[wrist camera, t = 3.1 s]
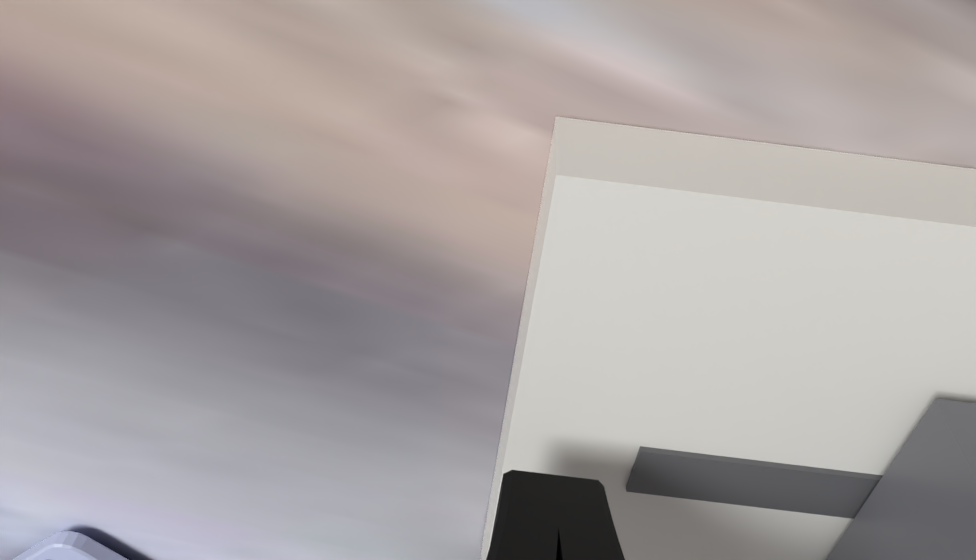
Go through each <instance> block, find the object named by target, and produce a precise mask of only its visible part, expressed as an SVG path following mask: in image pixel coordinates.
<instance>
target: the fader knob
mask: <svg viewBox="0 0 976 560" xmlns="http://www.w3.org/2000/svg"><path fill="white" fill-rule="evenodd" d="M826 560H976V403H968V402H960V401H951V400H943V399H935V400H934V401H933V403H932V404H931V405H930V407H929V408H928V410H927V411H926V413H925V414H924V416H923V417H922V419H921V420H920V422H919V423H918V425H917V426H916V428H915V429H914V431H913V432H912V434H911V435H910V437H909V438H908V440H907V441H906V442H905V444H904V445H903V447H902V448H901V450H900V451H899V453H898V454H897V456H896V457H895V459H894V460H893V462H892V463H891V465H890V466H889V468H888V469H887V471H886V472H885V474H884V475H883V477H882V478H881V480H880V481H879V482H878V484H877V485H876V487H875V488H874V490H873V491H872V493H871V494H870V496H869V497H868V499H867V500H866V502H865V503H864V505H863V506H862V508H861V509H860V511H859V512H858V514H857V515H856V517H855V518H854V519H853V521H852V522H851V524H850V525H849V527H848V528H847V530H846V531H845V533H844V534H843V536H842V537H841V539H840V540H839V542H838V543H837V545H836V546H835V548H834V549H833V551H832V552H831V554H830V555H829V557H828V558H827V559H826Z"/></svg>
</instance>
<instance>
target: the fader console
mask: <svg viewBox="0 0 976 560" xmlns="http://www.w3.org/2000/svg"><path fill="white" fill-rule="evenodd" d="M935 399H943V400H951V401H960V402H968V403H976V169H972V168H964V167H956V166H948V165H940V164H932V163H924V162H916V161H908V160H900V159H892V158H884V157H876V156H868V155H860V154H852V153H844V152H836V151H828V150H820V149H812V148H804V147H796V146H788V145H780V144H772V143H764V142H756V141H748V140H740V139H732V138H724V137H716V136H708V135H700V134H692V133H684V132H676V131H668V130H660V129H652V128H644V127H636V126H628V125H620V124H612V123H604V122H596V121H588V120H580V119H572V118H564V117H556V118H555V124H554V130H553V136H552V141H551V147H550V153H549V159H548V165H547V170H546V176H545V182H544V188H543V194H542V199H541V205H540V211H539V217H538V223H537V228H536V234H535V240H534V246H533V252H532V257H531V263H530V269H529V275H528V281H527V286H526V292H525V298H524V304H523V310H522V315H521V321H520V327H519V333H518V339H517V344H516V350H515V356H514V362H513V368H512V373H511V379H510V385H509V391H508V397H507V402H506V408H505V414H504V420H503V426H502V431H501V437H500V443H499V449H498V455H497V460H496V466H495V472H494V478H493V484H492V490H491V495H490V501H489V507H488V513H487V519H486V524H485V530H484V536H483V542H482V548H481V560H486V558H487V555H488V551H489V548H490V543H491V538H492V532H493V527H494V521H495V516H496V510H497V505H498V499H499V494H500V489H501V483H502V478H503V474H504V473H506V472H508V471H510V470H519V471H527V472H536V473H544V474H552V475H561V476H569V477H577V478H586V479H594V480H599V481H600V482H601V483H602V484H603V486H604V488H605V492H606V496H607V501H608V505H609V508H610V512H611V516H612V519H613V523H614V526H615V530H616V533H617V536H618V539H619V543H620V546H621V549H622V552H623V555H624V558H625V560H826V559H827V558H828V557H829V555H830V554H831V552H832V551H833V549H834V548H835V546H836V545H837V543H838V542H839V540H840V539H841V537H842V536H843V534H844V533H845V531H846V530H847V528H848V527H849V525H850V524H851V522H852V521H853V519H854V518H855V517H856V515H857V514H858V512H859V511H860V509H861V508H862V506H863V505H864V503H865V502H866V500H867V499H868V497H869V496H870V494H871V493H872V491H873V490H874V488H875V487H876V485H877V484H878V482H879V481H880V480H881V478H882V477H883V475H884V474H885V472H886V471H887V469H888V468H889V466H890V465H891V463H892V462H893V460H894V459H895V457H896V456H897V454H898V453H899V451H900V450H901V448H902V447H903V445H904V444H905V442H906V441H907V440H908V438H909V437H910V435H911V434H912V432H913V431H914V429H915V428H916V426H917V425H918V423H919V422H920V420H921V419H922V417H923V416H924V414H925V413H926V411H927V410H928V408H929V407H930V405H931V404H932V403H933V401H934V400H935Z"/></svg>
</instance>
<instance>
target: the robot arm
mask: <svg viewBox="0 0 976 560" xmlns="http://www.w3.org/2000/svg"><path fill="white" fill-rule="evenodd" d="M12 560H128V559H126V558H125V557H123V556H121V555H119V554H118V553H116V552H114V551H112V550H111V549H109V548H107V547H105V546H103V545H102V544H100V543H98V542H96V541H95V540H93V539H91V538H89V537H88V536H85V535H83V534H81V533H78V532H73V531H61V532H58V533H55V534H53V535H51V536H50V537H48V538H46V539H45V540H43V541H42V542H40V543H38V544H37V545H35V546H33V547H32V548H30V549H28V550H27V551H25V552H23V553H22V554H20V555H18V556H17V557H15V558H13V559H12ZM486 560H625V558H624V555H623V552H622V549H621V546H620V543H619V539H618V536H617V533H616V530H615V526H614V523H613V519H612V516H611V512H610V508H609V505H608V501H607V496H606V492H605V488H604V486H603V484H602V483H601V482H600V481H599V480H594V479H586V478H577V477H569V476H561V475H552V474H544V473H536V472H527V471H519V470H510V471H508V472H506V473H504V474H503V478H502V483H501V489H500V494H499V499H498V505H497V510H496V516H495V521H494V527H493V532H492V538H491V543H490V548H489V551H488V555H487V558H486Z"/></svg>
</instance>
